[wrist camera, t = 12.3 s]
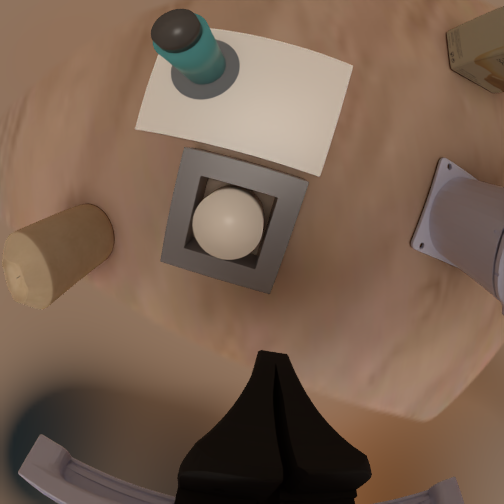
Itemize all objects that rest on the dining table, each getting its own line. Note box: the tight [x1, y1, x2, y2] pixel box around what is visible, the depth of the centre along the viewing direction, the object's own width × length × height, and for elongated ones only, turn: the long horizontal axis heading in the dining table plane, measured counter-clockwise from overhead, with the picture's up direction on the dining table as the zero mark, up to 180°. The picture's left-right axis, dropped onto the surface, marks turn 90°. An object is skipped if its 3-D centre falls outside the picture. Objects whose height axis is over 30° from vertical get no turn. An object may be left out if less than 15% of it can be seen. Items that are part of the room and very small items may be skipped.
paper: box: [135, 28, 353, 177], centre depth 17 cm, size 14×9×1 cm, turn 74°
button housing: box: [161, 147, 309, 294], centre depth 19 cm, size 8×8×3 cm
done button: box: [192, 185, 264, 260], centre depth 18 cm, size 4×4×3 cm
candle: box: [2, 204, 114, 309], centre depth 16 cm, size 6×6×10 cm
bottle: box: [151, 9, 226, 85], centre depth 13 cm, size 3×3×7 cm
